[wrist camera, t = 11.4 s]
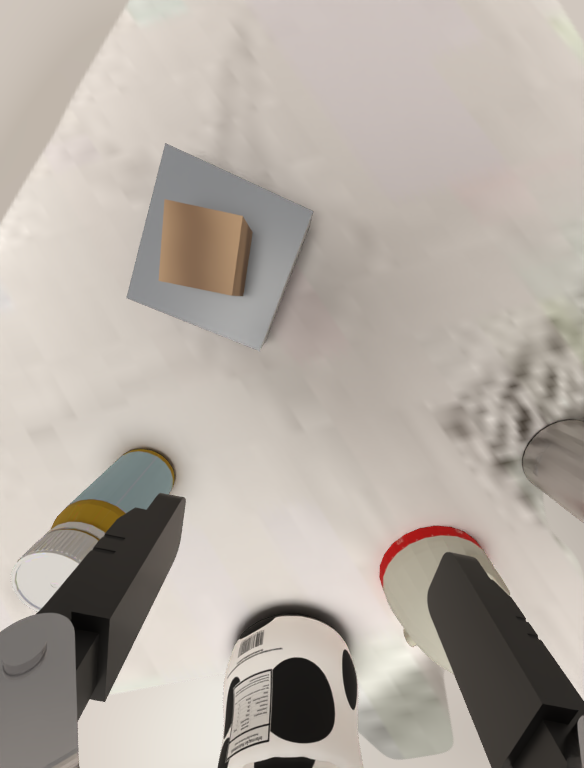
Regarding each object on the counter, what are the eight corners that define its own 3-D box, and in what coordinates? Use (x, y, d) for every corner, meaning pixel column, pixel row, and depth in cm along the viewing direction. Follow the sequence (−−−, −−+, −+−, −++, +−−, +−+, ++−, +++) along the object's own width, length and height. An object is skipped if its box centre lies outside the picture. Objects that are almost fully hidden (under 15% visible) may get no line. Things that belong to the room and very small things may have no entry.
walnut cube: (252, 232, 24) (242, 215, 20) (243, 296, 26) (231, 295, 21) (190, 218, 24) (164, 199, 19) (184, 284, 25) (158, 280, 21)
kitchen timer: (441, 622, 43) (516, 784, 29) (359, 584, 41) (395, 738, 27) (505, 552, 40) (626, 696, 25) (419, 508, 38) (497, 637, 24)
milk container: (329, 695, 47) (351, 926, 30) (220, 674, 46) (176, 902, 29) (366, 614, 43) (418, 829, 25) (246, 588, 41) (214, 796, 24)
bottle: (185, 462, 36) (115, 570, 22) (163, 506, 38) (84, 634, 23) (129, 436, 35) (17, 532, 21) (110, 483, 37) (-7, 601, 23)
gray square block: (309, 228, 30) (313, 211, 24) (265, 341, 33) (259, 351, 27) (191, 174, 28) (165, 143, 23) (156, 297, 31) (126, 298, 26)
